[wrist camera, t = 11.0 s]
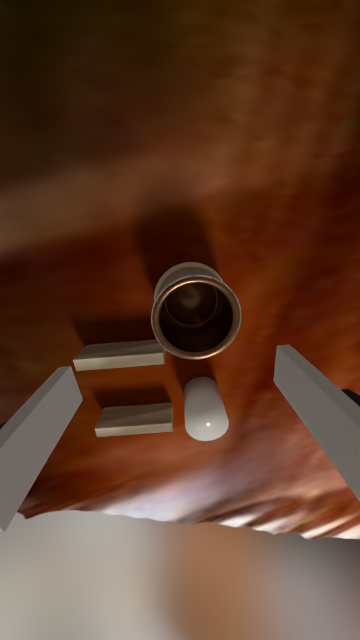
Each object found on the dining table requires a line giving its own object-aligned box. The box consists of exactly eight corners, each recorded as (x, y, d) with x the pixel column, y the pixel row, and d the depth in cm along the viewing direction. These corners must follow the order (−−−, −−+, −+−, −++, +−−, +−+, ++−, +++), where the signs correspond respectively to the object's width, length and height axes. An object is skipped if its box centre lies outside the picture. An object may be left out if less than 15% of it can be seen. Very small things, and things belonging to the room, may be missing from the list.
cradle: (86, 344, 35) (73, 360, 30) (164, 338, 35) (162, 352, 30) (106, 415, 41) (97, 436, 36) (173, 409, 41) (172, 431, 36)
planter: (218, 258, 30) (236, 263, 21) (228, 322, 34) (247, 350, 25) (149, 274, 30) (138, 286, 22) (166, 336, 34) (163, 368, 25)
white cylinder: (182, 378, 38) (183, 410, 30) (218, 375, 38) (228, 406, 30) (184, 406, 40) (186, 442, 33) (218, 403, 40) (228, 439, 33)
